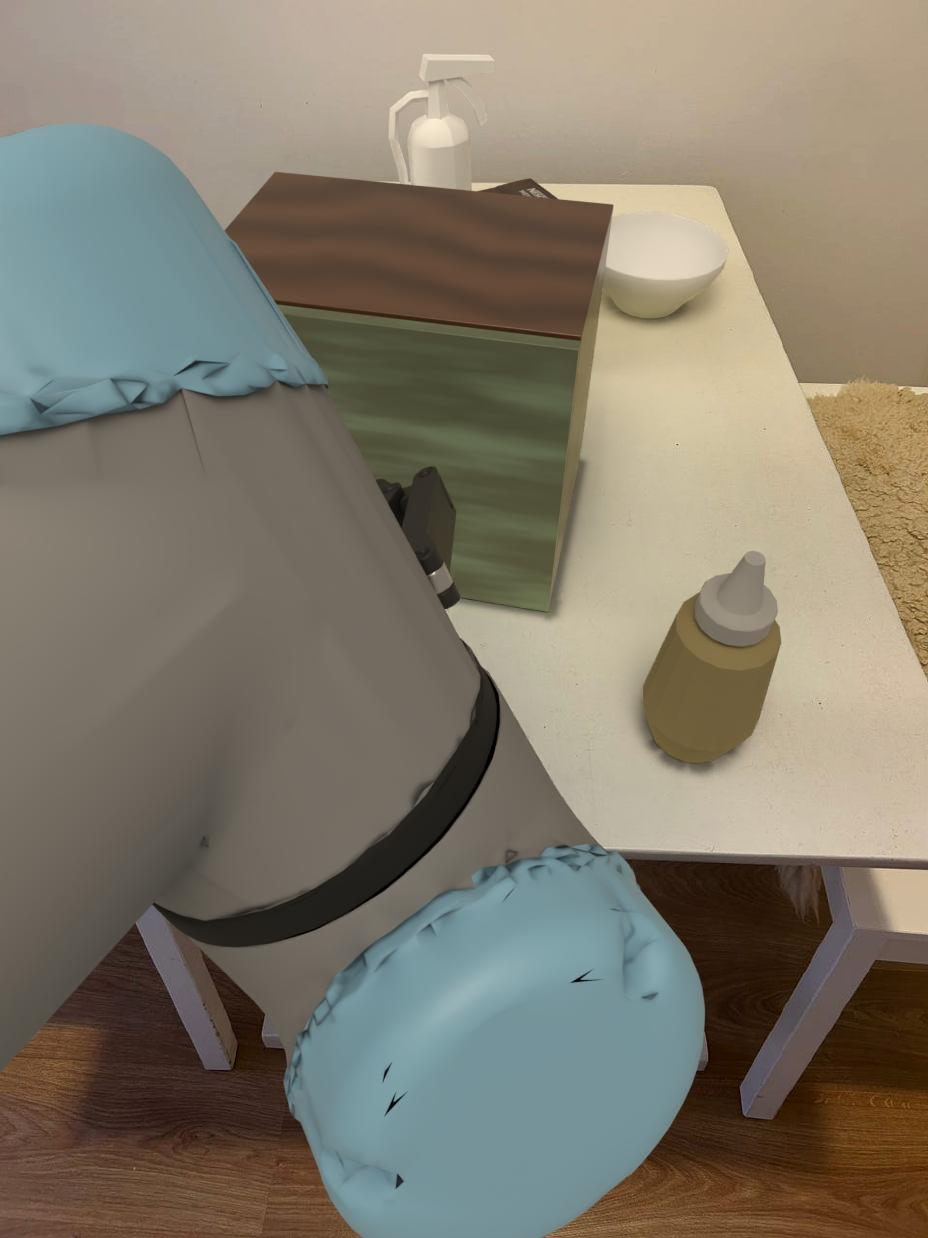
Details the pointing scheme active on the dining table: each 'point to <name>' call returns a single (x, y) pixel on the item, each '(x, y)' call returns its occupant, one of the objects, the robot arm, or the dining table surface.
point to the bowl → (660, 262)
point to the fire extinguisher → (440, 123)
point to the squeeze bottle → (715, 666)
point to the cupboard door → (461, 432)
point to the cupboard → (436, 263)
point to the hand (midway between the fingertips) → (236, 551)
